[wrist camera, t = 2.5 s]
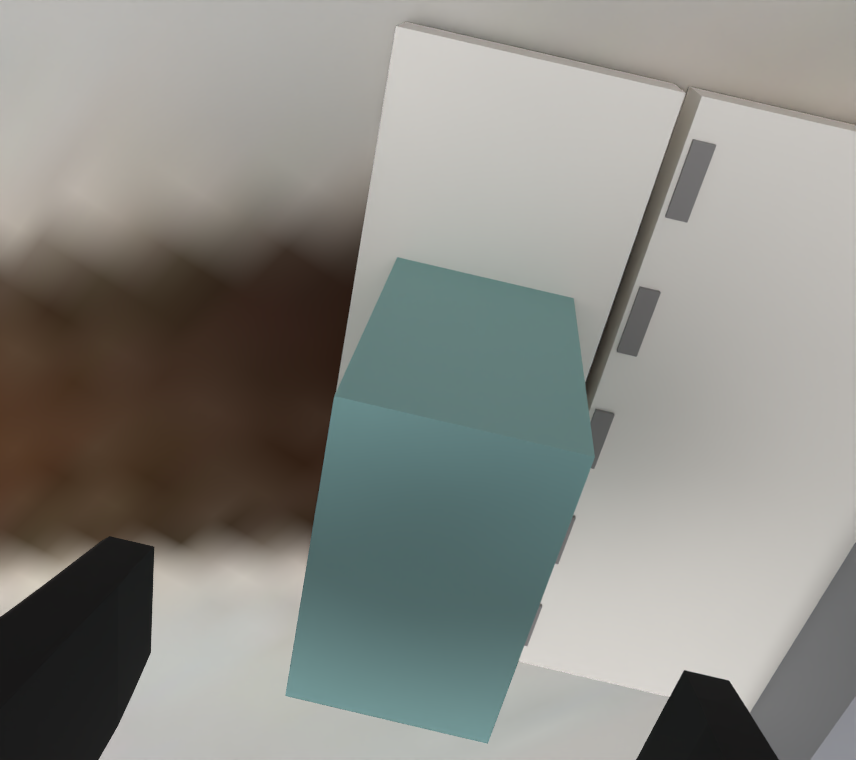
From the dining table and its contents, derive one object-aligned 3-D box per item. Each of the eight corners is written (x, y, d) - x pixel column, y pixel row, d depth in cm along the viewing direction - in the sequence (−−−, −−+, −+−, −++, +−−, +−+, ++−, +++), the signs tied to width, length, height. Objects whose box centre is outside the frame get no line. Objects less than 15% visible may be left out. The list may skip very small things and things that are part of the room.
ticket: (1208, 142, 14) (1423, 198, 10) (811, 722, 21) (861, 858, 18) (709, 27, 14) (765, 46, 10) (494, 648, 21) (487, 770, 18)
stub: (674, 83, 14) (778, 168, 8) (491, 622, 21) (477, 881, 15) (406, 21, 14) (317, 61, 8) (311, 580, 21) (225, 821, 15)
